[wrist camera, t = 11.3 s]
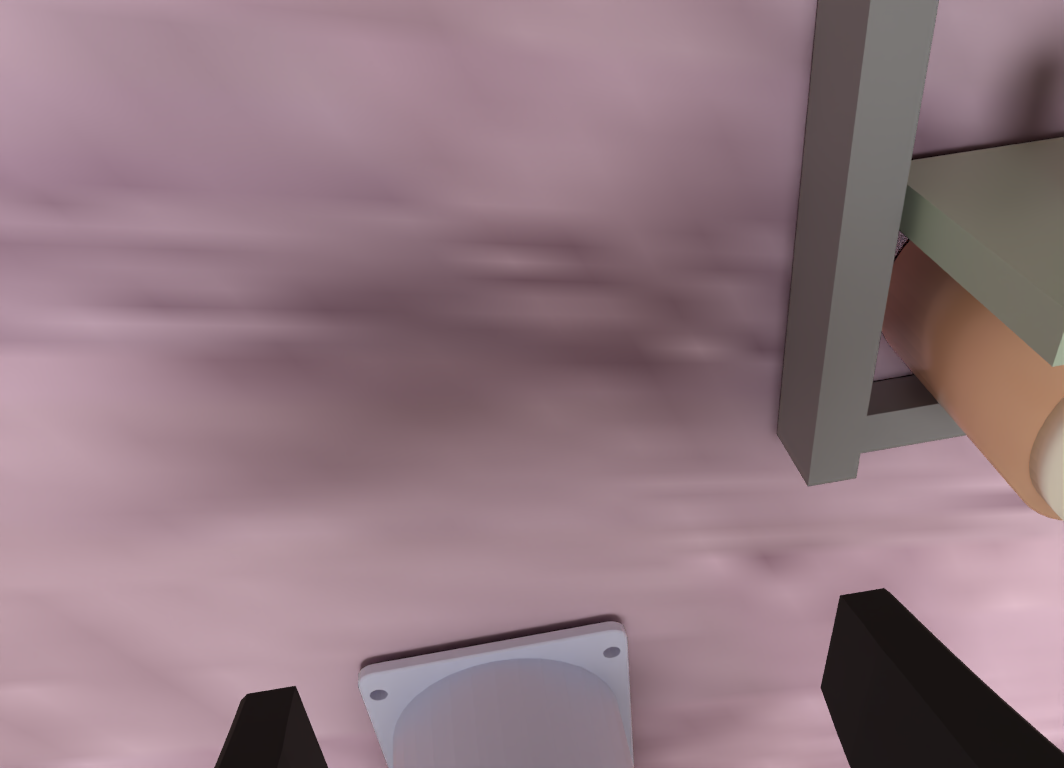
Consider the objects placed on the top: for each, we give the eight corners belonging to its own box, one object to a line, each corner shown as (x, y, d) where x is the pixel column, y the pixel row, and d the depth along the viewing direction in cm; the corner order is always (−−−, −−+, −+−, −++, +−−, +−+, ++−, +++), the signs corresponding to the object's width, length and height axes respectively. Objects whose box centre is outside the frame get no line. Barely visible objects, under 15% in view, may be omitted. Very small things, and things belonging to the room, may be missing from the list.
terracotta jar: (1067, 339, 22) (1262, 505, 17) (875, 389, 22) (1015, 569, 17) (1106, 156, 19) (1357, 295, 14) (883, 214, 19) (1056, 372, 14)
